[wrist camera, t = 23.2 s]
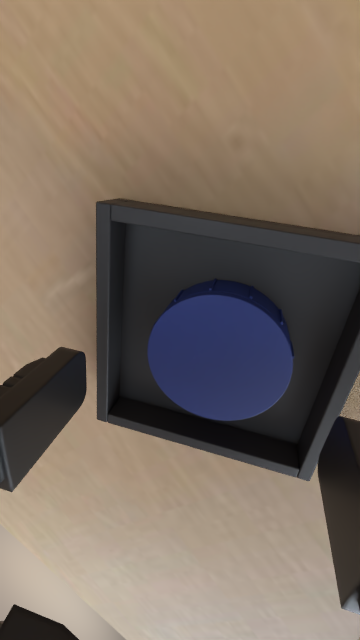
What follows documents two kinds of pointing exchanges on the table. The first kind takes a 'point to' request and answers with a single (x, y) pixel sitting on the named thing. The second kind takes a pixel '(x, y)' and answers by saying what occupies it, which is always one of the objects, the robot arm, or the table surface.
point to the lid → (221, 351)
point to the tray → (243, 267)
